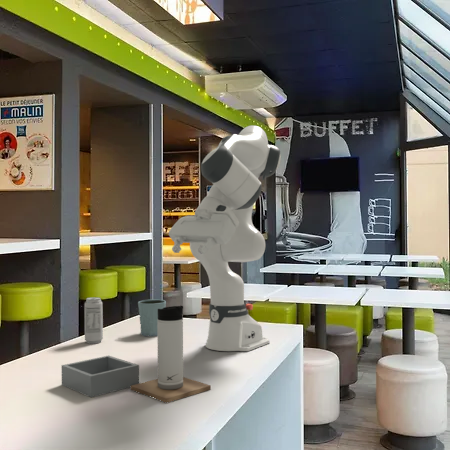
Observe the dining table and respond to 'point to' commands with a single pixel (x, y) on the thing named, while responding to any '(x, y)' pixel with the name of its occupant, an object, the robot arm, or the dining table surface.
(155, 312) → the teal cup
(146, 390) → the serving board
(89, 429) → the dining table surface
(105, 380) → the crate
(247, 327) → the robot arm
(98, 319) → the energy drink can
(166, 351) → the travel mug
